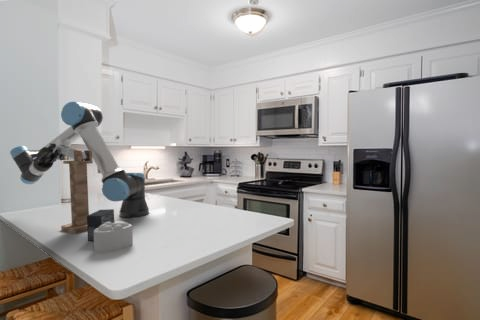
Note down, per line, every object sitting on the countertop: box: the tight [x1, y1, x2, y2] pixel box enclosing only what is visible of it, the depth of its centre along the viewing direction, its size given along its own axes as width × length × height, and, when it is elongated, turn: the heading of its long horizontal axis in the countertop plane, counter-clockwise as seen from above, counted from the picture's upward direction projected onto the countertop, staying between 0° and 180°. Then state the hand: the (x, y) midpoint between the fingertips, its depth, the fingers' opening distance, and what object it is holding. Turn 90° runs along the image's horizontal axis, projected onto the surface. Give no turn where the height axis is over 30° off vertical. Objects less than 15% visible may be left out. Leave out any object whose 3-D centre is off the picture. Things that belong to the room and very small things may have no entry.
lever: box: [48, 142, 88, 160], centre depth 129 cm, size 26×3×3 cm, turn 63°
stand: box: [60, 149, 94, 235], centre depth 126 cm, size 12×11×36 cm
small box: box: [87, 209, 115, 242], centre depth 115 cm, size 11×6×10 cm, turn 178°
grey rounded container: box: [93, 220, 134, 253], centre depth 104 cm, size 10×13×9 cm
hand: (64, 141), depth 130 cm, fingers closed on lever, 3 cm apart
